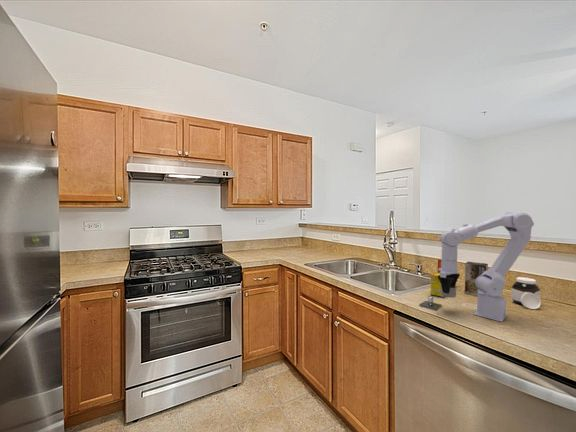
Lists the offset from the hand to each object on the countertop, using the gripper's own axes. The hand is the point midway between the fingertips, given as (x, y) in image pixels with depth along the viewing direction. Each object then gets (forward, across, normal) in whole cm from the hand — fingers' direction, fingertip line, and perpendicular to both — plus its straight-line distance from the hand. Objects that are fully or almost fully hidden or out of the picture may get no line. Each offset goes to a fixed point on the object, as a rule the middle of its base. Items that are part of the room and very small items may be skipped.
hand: (448, 291), depth 114 cm
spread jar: (+9, -37, +21) cm, 43 cm away
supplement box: (+9, -20, -11) cm, 25 cm away
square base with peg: (+9, -1, -8) cm, 12 cm away
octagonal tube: (+2, 0, 0) cm, 2 cm away
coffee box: (+9, -37, +1) cm, 38 cm away
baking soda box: (+9, -40, -14) cm, 43 cm away
